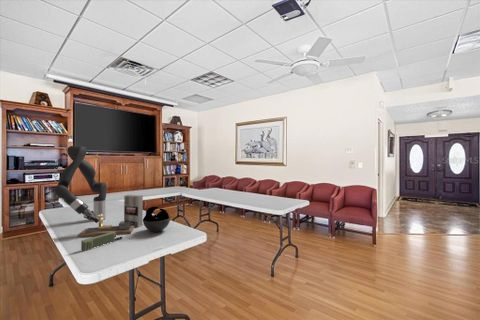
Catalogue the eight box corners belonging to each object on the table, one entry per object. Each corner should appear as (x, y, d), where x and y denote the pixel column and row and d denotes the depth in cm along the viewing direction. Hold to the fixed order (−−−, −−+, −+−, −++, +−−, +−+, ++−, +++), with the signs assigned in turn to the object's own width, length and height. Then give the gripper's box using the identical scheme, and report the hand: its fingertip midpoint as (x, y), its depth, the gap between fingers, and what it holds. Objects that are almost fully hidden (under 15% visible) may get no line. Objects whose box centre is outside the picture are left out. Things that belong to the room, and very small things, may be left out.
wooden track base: (85, 231, 174) (85, 226, 174) (134, 227, 183) (134, 223, 183) (78, 237, 161) (78, 232, 161) (130, 233, 170) (130, 228, 170)
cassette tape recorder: (123, 226, 188) (123, 195, 188) (128, 223, 194) (128, 194, 194) (137, 227, 185) (137, 196, 185) (142, 225, 191) (142, 195, 191)
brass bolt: (99, 229, 172) (99, 213, 172) (111, 228, 174) (111, 213, 174) (97, 230, 169) (97, 214, 169) (110, 230, 171) (110, 214, 171)
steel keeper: (120, 227, 177) (120, 221, 177) (130, 227, 179) (130, 220, 179) (118, 230, 171) (118, 223, 171) (129, 229, 173) (129, 223, 173)
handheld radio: (80, 250, 140) (120, 238, 161) (83, 252, 138) (123, 239, 159) (80, 240, 139) (120, 229, 160) (83, 241, 138) (123, 230, 159)
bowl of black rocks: (143, 228, 183) (143, 204, 182) (169, 226, 190) (169, 203, 189) (142, 236, 164) (142, 210, 164) (171, 233, 171) (171, 208, 171)
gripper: (79, 204, 161) (99, 220, 164) (86, 200, 174) (104, 215, 177) (70, 212, 160) (90, 228, 163) (78, 207, 172) (97, 223, 176)
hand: (98, 221), depth 170 cm, fingers closed
